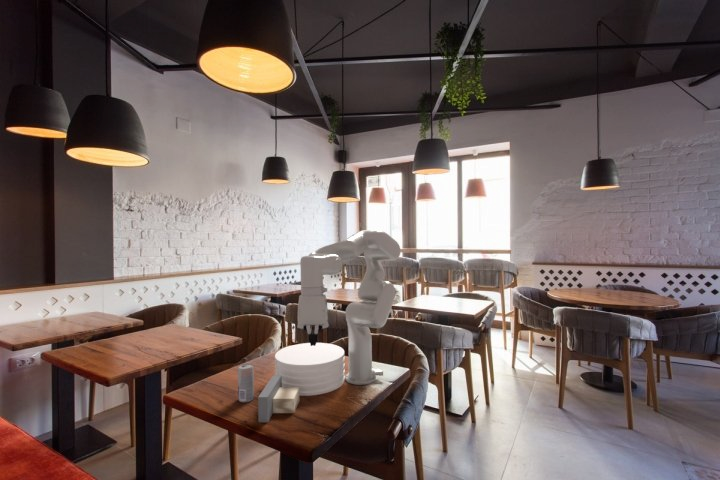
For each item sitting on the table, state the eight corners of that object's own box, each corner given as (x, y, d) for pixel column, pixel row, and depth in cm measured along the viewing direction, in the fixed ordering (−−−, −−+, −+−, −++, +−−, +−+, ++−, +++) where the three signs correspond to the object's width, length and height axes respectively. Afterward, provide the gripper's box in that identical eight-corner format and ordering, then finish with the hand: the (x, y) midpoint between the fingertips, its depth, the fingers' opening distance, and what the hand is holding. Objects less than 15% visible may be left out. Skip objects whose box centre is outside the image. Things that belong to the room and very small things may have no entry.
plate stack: (356, 374, 150) (356, 347, 150) (320, 402, 125) (319, 369, 125) (303, 364, 163) (302, 339, 163) (260, 387, 138) (259, 358, 138)
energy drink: (248, 394, 132) (248, 362, 132) (256, 398, 128) (256, 365, 128) (235, 399, 127) (234, 366, 127) (243, 404, 124) (243, 370, 124)
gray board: (281, 396, 130) (281, 375, 130) (267, 422, 112) (267, 397, 112) (273, 396, 130) (273, 375, 130) (258, 422, 112) (258, 397, 112)
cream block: (299, 401, 126) (299, 387, 126) (294, 413, 117) (293, 398, 117) (280, 401, 127) (279, 387, 127) (273, 413, 118) (272, 398, 118)
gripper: (334, 289, 125) (335, 340, 125) (292, 290, 125) (293, 341, 125) (333, 293, 118) (334, 347, 118) (288, 293, 118) (289, 348, 118)
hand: (313, 344), depth 122 cm, fingers closed
